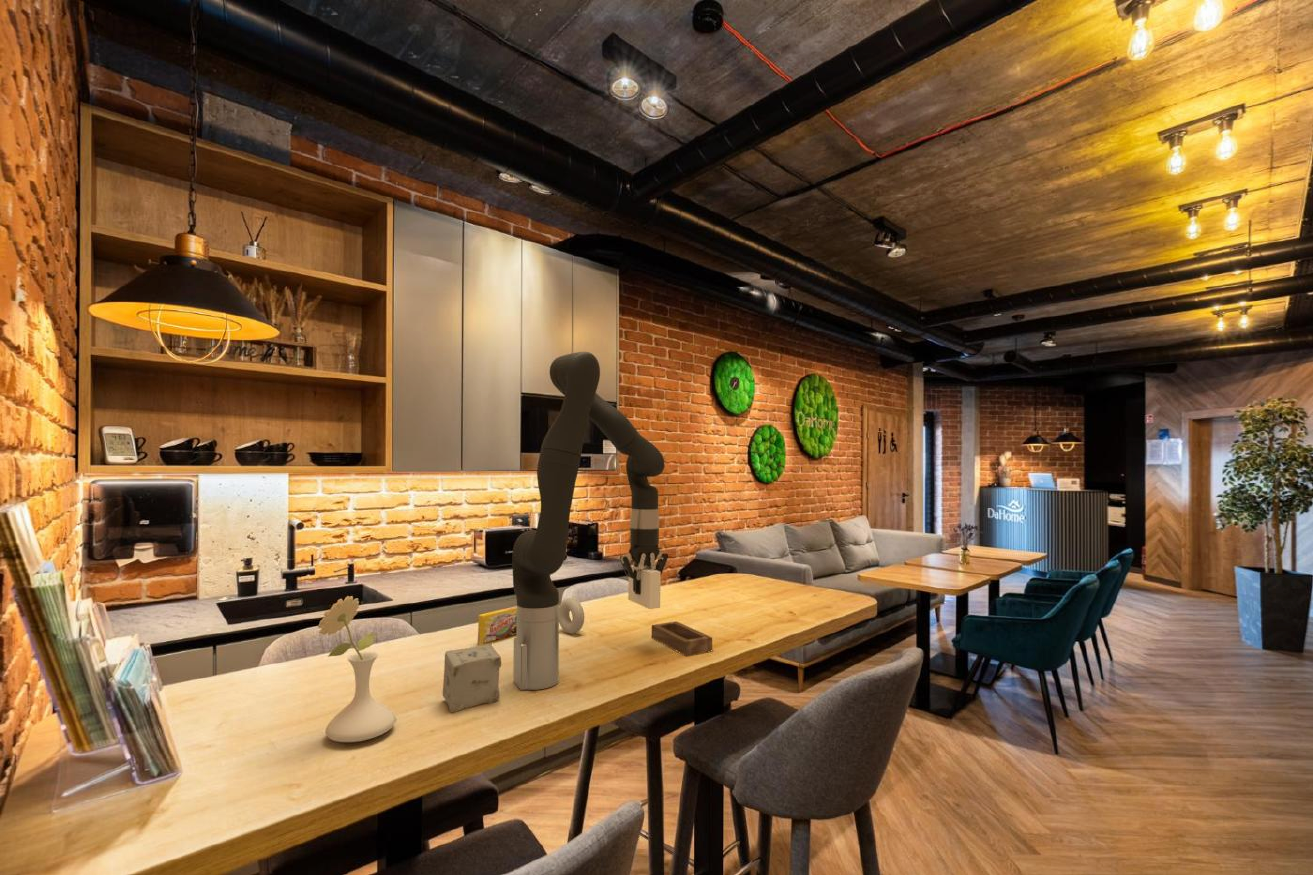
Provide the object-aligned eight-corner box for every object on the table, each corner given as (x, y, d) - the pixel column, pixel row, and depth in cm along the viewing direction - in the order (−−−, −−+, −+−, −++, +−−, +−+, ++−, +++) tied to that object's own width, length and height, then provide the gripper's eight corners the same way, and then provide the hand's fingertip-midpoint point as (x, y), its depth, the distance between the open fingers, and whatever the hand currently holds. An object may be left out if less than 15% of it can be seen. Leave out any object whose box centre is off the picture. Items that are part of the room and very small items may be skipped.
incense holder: (452, 715, 114) (452, 661, 114) (441, 701, 121) (442, 649, 121) (502, 704, 119) (502, 651, 119) (489, 691, 126) (489, 641, 126)
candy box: (481, 647, 156) (482, 615, 156) (476, 646, 157) (477, 614, 158) (529, 633, 169) (529, 604, 169) (524, 632, 170) (524, 603, 170)
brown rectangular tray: (685, 656, 148) (685, 642, 148) (651, 637, 164) (651, 625, 164) (712, 651, 152) (712, 637, 152) (676, 633, 168) (676, 621, 168)
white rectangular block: (649, 609, 147) (650, 572, 148) (628, 599, 158) (628, 565, 158) (660, 607, 149) (660, 571, 149) (638, 598, 159) (638, 564, 159)
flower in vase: (378, 715, 114) (380, 584, 115) (408, 732, 107) (410, 592, 108) (303, 739, 104) (307, 596, 105) (331, 760, 97) (334, 605, 98)
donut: (587, 635, 166) (587, 599, 167) (577, 638, 164) (577, 601, 164) (564, 629, 173) (564, 594, 173) (555, 631, 170) (555, 596, 171)
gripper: (626, 528, 147) (625, 598, 147) (675, 526, 154) (674, 593, 153) (614, 526, 154) (613, 593, 153) (660, 524, 161) (660, 588, 160)
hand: (643, 593), depth 153 cm, fingers closed on white rectangular block, 3 cm apart
